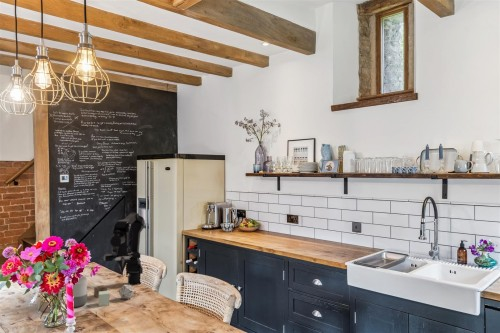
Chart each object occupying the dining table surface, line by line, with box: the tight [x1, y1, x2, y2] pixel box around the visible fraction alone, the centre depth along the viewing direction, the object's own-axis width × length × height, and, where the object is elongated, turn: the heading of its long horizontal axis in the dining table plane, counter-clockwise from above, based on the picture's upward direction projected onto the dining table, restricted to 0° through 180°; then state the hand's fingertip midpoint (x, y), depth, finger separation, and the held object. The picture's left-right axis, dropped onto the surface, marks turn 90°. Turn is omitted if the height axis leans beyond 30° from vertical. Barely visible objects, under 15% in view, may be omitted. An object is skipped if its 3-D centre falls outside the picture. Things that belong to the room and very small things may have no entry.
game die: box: [118, 283, 135, 301], centre depth 207 cm, size 9×8×10 cm
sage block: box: [98, 290, 110, 307], centre depth 199 cm, size 5×5×6 cm
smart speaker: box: [73, 275, 88, 308], centre depth 196 cm, size 10×9×14 cm
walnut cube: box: [93, 284, 108, 299], centre depth 211 cm, size 5×5×5 cm
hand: (121, 271), depth 212 cm, fingers closed
